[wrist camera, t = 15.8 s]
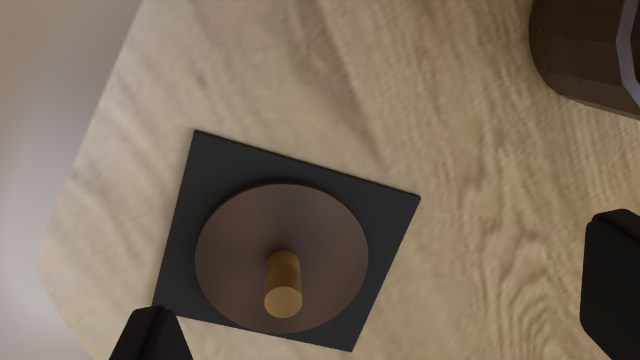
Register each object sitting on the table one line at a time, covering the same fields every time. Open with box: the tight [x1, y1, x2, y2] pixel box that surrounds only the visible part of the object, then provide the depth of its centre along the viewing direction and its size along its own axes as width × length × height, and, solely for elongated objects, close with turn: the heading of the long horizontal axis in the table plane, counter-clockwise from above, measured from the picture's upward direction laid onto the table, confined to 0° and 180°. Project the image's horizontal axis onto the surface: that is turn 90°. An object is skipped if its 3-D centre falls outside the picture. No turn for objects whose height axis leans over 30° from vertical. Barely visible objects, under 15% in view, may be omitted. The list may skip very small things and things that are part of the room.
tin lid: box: [194, 181, 369, 334], centre depth 31 cm, size 14×14×6 cm
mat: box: [152, 130, 421, 352], centre depth 34 cm, size 18×16×1 cm
